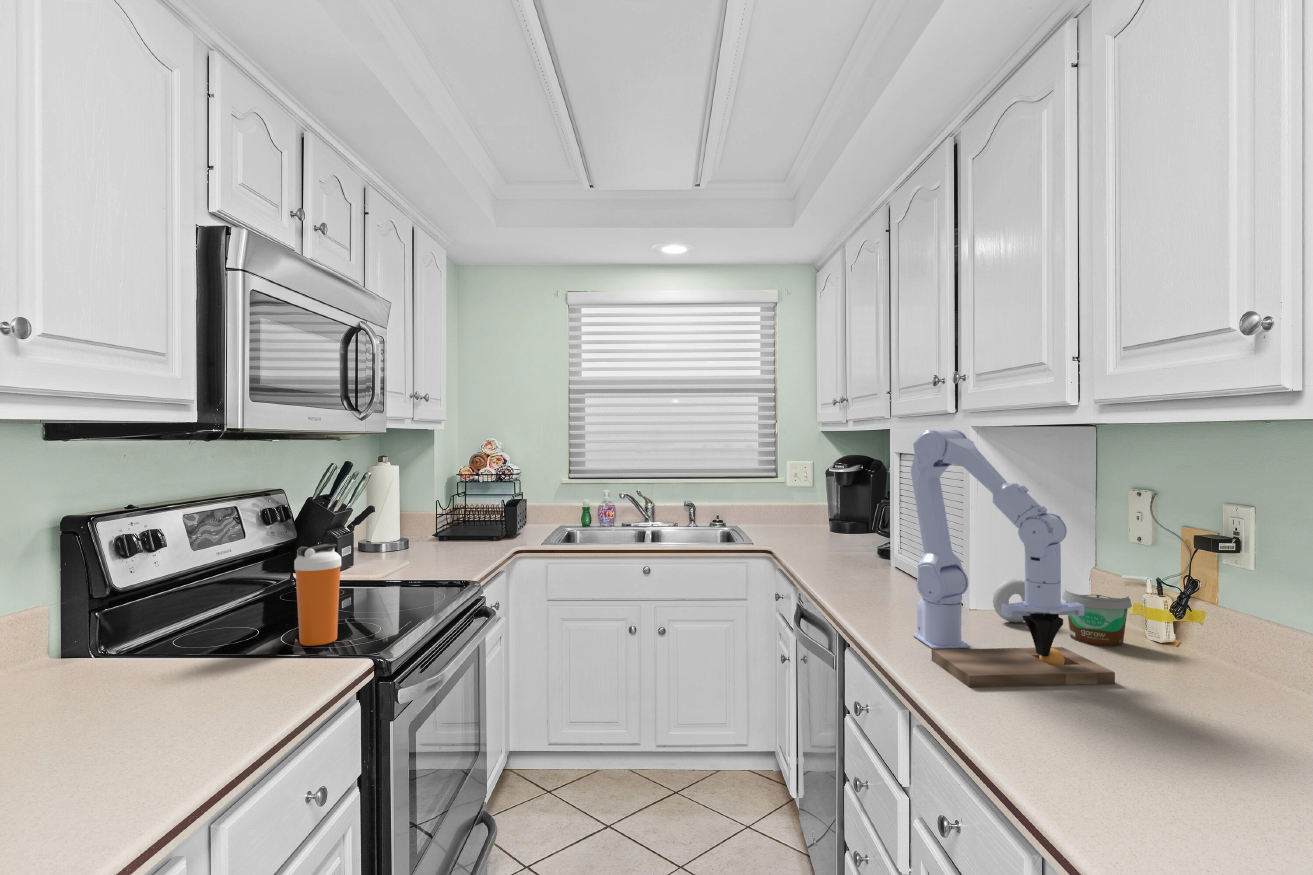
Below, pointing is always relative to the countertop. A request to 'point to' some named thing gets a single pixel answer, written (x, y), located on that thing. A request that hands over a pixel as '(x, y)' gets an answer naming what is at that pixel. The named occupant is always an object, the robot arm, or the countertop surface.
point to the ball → (1053, 657)
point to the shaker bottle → (317, 593)
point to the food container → (1098, 619)
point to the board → (1019, 668)
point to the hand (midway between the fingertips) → (1042, 654)
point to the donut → (1008, 597)
